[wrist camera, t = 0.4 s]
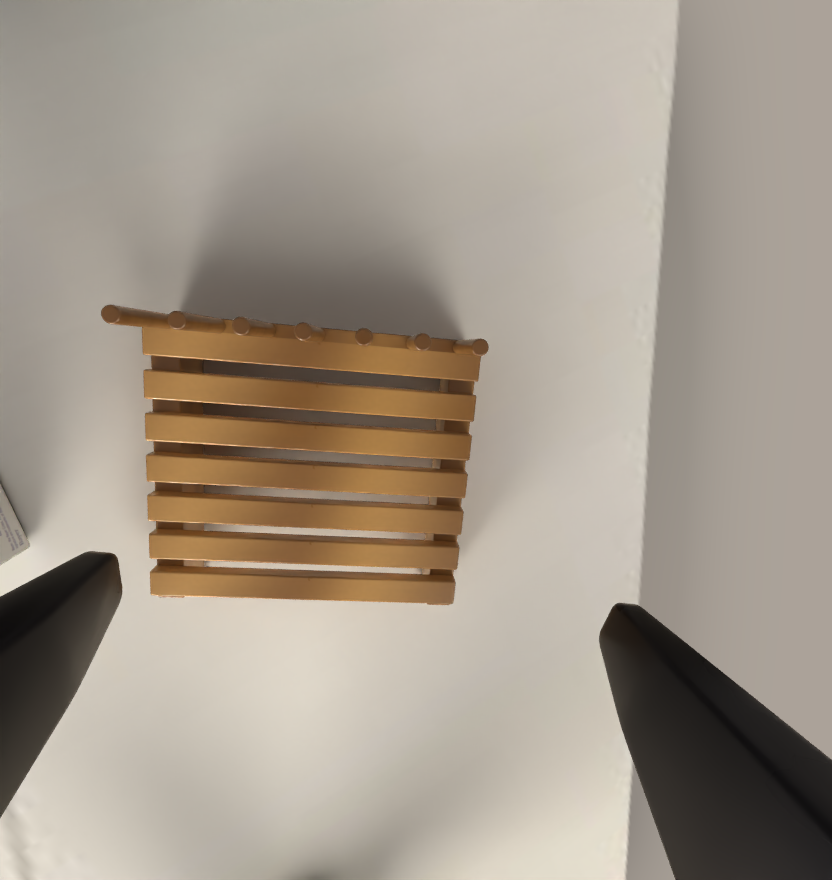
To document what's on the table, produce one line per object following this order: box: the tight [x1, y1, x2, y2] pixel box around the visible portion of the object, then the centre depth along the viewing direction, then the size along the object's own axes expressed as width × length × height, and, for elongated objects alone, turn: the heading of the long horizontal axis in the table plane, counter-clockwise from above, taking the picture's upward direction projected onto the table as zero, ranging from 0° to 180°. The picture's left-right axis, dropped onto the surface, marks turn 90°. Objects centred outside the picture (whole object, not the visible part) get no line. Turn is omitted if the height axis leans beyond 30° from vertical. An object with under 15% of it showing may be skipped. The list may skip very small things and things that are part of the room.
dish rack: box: [101, 305, 489, 605], centre depth 20 cm, size 14×13×7 cm
